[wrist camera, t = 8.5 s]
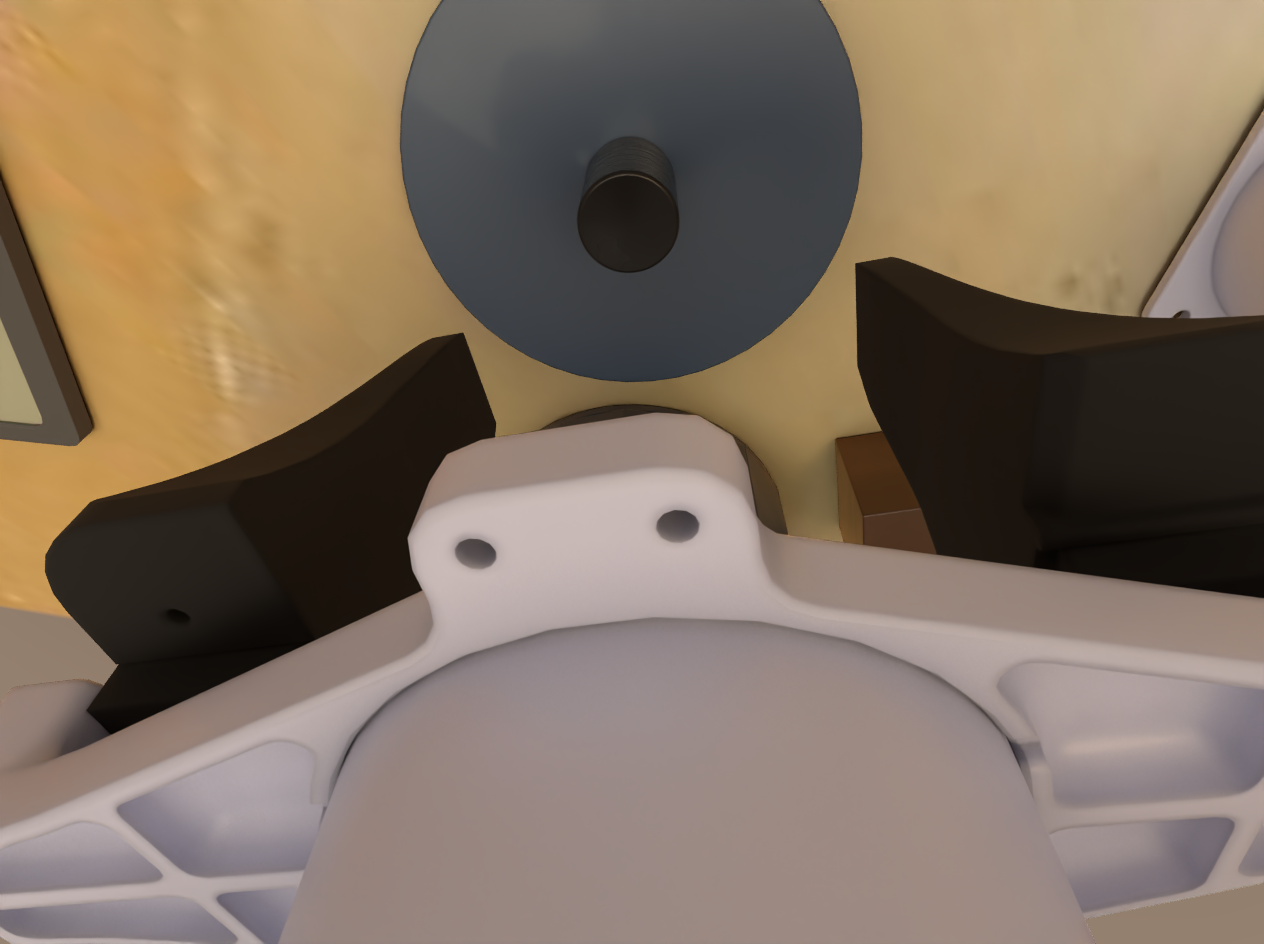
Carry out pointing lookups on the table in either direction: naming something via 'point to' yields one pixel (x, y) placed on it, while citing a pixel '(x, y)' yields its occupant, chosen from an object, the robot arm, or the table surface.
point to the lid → (631, 172)
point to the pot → (760, 479)
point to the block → (877, 497)
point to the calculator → (32, 353)
